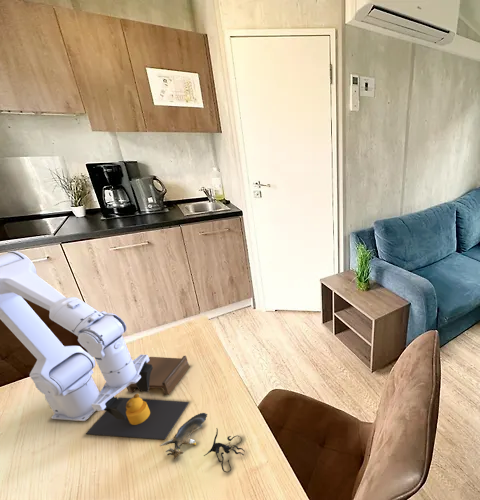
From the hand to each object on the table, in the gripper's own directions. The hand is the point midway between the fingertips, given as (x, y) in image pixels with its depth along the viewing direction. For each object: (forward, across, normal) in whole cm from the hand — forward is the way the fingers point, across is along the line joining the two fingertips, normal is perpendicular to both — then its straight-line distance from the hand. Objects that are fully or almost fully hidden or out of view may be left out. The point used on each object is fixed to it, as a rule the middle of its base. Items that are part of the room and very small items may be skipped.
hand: (133, 403), depth 71 cm
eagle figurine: (+5, -5, -16) cm, 18 cm away
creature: (+5, -7, -27) cm, 29 cm away
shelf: (+5, +12, +3) cm, 13 cm away
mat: (+5, 0, 0) cm, 5 cm away
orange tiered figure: (+5, 0, 0) cm, 5 cm away
